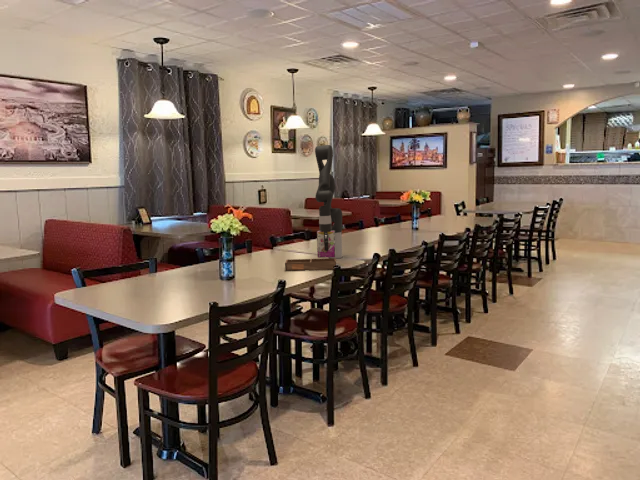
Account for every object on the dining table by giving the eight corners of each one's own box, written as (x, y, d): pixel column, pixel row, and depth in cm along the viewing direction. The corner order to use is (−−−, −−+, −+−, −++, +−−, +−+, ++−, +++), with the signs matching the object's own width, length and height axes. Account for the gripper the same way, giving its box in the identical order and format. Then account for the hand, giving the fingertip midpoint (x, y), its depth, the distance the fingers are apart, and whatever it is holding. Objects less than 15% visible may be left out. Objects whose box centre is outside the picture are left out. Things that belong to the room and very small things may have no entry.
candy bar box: (317, 257, 312) (316, 231, 310) (318, 256, 317) (317, 230, 314) (335, 257, 311) (334, 231, 309) (335, 255, 316) (334, 230, 313)
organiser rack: (286, 267, 310) (286, 259, 309) (336, 266, 309) (335, 258, 308) (285, 271, 299) (284, 263, 298) (336, 269, 298) (336, 261, 297)
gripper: (331, 224, 304) (332, 251, 306) (331, 221, 318) (332, 247, 321) (319, 224, 304) (320, 252, 306) (319, 221, 318) (320, 247, 321)
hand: (326, 249), depth 313 cm, fingers closed on candy bar box, 5 cm apart
